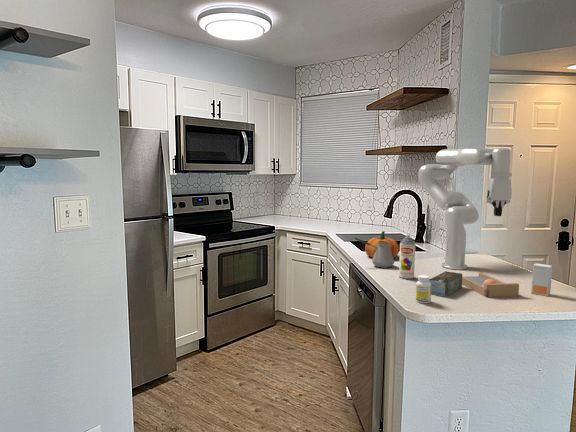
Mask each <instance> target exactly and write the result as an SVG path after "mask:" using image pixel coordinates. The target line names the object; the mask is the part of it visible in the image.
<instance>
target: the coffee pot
mask: <svg viewBox="0 0 576 432" xmlns="http://www.w3.org/2000/svg"><path fill="white" fill-rule="evenodd" d="M355 240H356V241H357V242H360V243H362V244H365V245H366V244H367V245H370V246H373V247H375V248H377V250H376V252H375V255H374V257H372V259H371V262H372V264H373V265H374V266H375V267H376V266H377V268H379V267H381V268H382V269H389V268H391V267H392V266H393V265H394V264H395V260H394V258H393V256H392V254H391V251H390V249H389V243H390V242H387V241H378V242H377V243H378V245H379V246H378V247H377V246H374V245H372V244H370V243H368V241H365V240H363V239H360V238H357V237H354V238H353V242H355ZM388 267H389V268H388ZM381 268H380V269H381Z"/></svg>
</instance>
